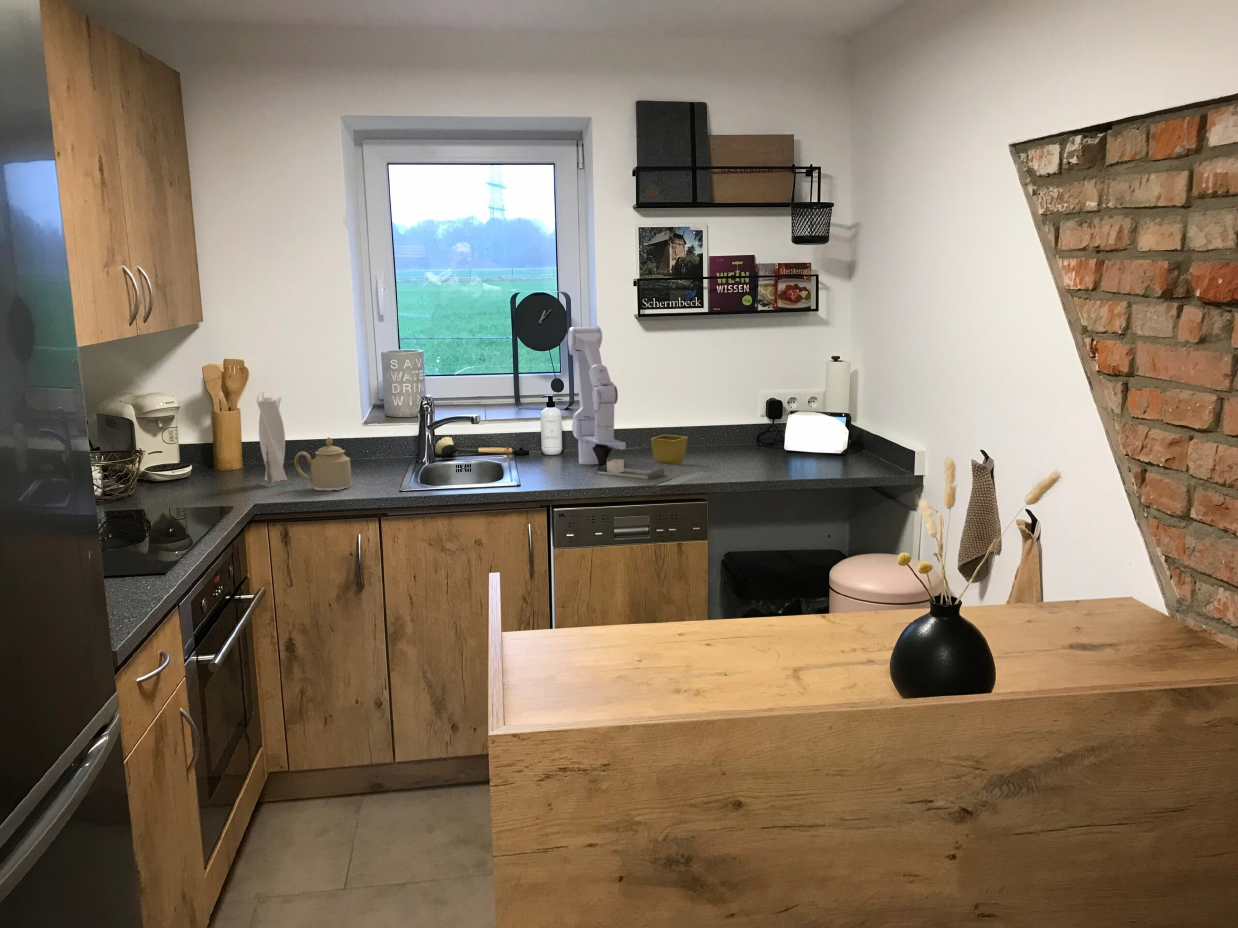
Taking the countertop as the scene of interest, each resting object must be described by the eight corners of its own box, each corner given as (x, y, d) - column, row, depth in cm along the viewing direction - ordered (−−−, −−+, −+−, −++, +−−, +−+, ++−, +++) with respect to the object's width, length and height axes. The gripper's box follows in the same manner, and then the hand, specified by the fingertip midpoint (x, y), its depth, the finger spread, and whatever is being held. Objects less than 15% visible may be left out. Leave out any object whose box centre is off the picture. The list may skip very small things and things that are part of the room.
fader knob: (615, 470, 292) (615, 458, 292) (623, 471, 291) (623, 459, 290) (607, 473, 289) (606, 461, 288) (615, 474, 287) (615, 462, 286)
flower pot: (688, 464, 308) (688, 436, 306) (675, 468, 301) (674, 440, 299) (664, 462, 313) (664, 434, 311) (650, 466, 306) (650, 438, 304)
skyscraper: (255, 485, 292) (247, 392, 287) (280, 480, 298) (272, 390, 293) (269, 488, 287) (261, 394, 281) (294, 484, 292) (286, 391, 287)
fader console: (605, 472, 298) (605, 462, 297) (671, 479, 284) (671, 469, 283) (587, 477, 290) (587, 466, 290) (654, 485, 277) (654, 474, 276)
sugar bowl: (303, 494, 275) (299, 442, 272) (295, 488, 284) (291, 437, 282) (356, 488, 282) (352, 437, 279) (346, 482, 291) (343, 433, 289)
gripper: (577, 424, 290) (576, 468, 293) (616, 430, 282) (615, 475, 285) (591, 421, 296) (590, 464, 299) (630, 426, 287) (629, 471, 290)
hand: (603, 469), depth 292 cm, fingers closed, pressing on fader console
